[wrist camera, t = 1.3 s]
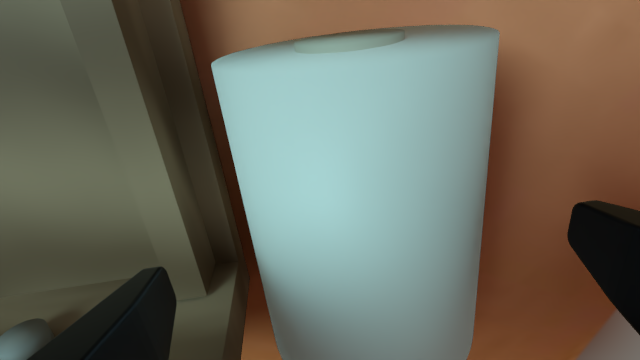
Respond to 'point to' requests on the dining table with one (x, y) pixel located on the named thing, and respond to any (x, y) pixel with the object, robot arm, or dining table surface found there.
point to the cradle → (110, 174)
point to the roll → (365, 185)
